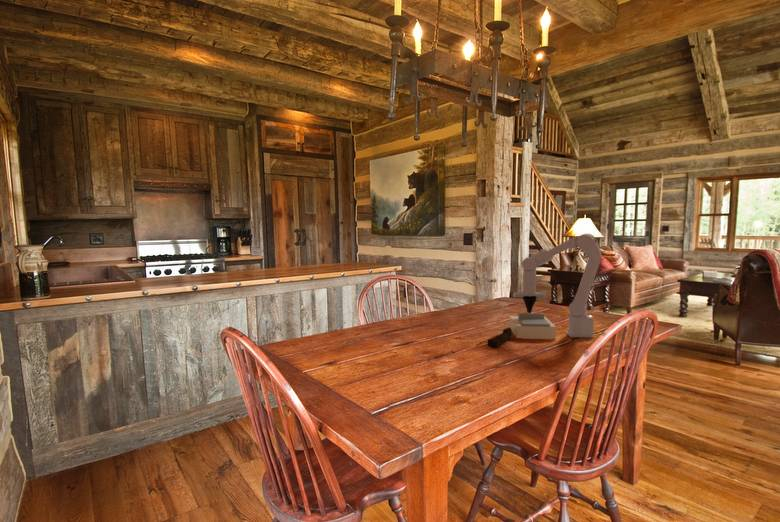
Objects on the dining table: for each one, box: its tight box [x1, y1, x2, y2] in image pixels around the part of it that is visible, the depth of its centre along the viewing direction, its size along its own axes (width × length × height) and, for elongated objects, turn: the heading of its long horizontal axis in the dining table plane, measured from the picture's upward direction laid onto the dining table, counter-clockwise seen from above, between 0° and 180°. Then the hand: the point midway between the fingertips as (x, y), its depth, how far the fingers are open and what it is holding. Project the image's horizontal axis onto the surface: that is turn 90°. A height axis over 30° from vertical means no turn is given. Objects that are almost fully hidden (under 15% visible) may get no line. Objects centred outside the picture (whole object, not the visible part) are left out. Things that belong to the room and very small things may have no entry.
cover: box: [517, 312, 550, 326], centre depth 173 cm, size 11×11×3 cm
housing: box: [509, 315, 557, 340], centre depth 178 cm, size 16×18×6 cm
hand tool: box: [486, 327, 513, 349], centre depth 165 cm, size 19×4×5 cm, turn 138°
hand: (529, 312), depth 184 cm, fingers closed
